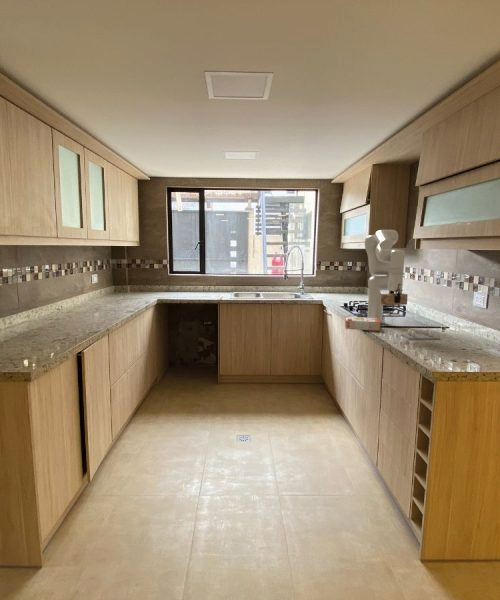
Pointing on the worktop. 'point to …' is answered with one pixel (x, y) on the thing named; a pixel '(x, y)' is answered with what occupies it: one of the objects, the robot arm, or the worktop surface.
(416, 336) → the peg stand
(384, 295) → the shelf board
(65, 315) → the worktop surface
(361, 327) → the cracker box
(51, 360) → the worktop surface
